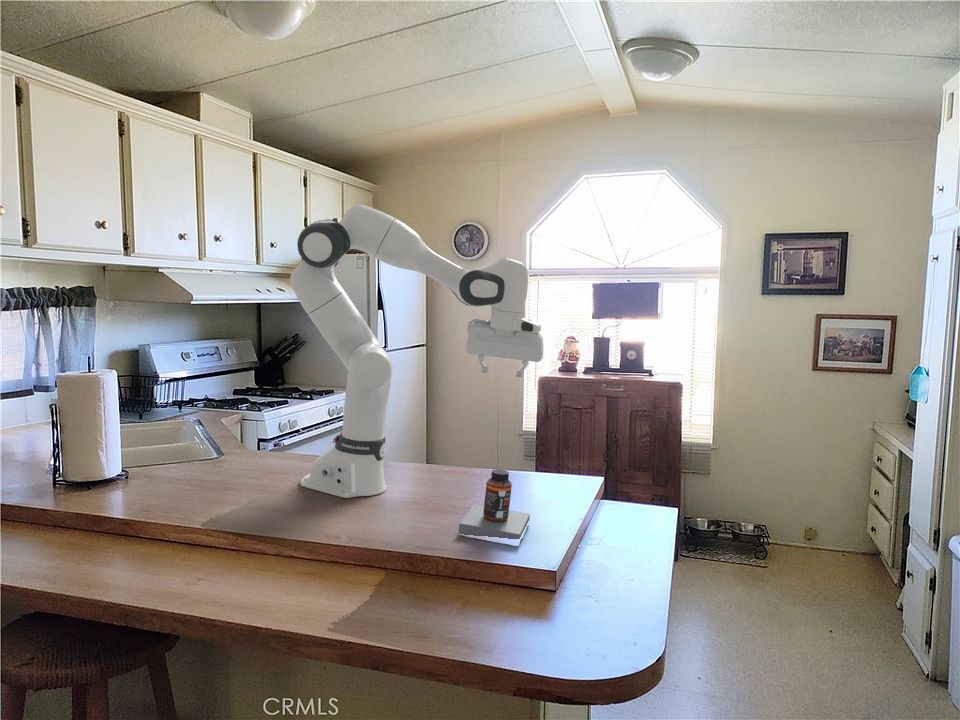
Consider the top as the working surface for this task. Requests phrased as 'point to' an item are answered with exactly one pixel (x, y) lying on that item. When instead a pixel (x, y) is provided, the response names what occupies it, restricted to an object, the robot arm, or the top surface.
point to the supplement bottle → (497, 496)
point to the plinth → (493, 524)
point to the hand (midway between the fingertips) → (501, 374)
